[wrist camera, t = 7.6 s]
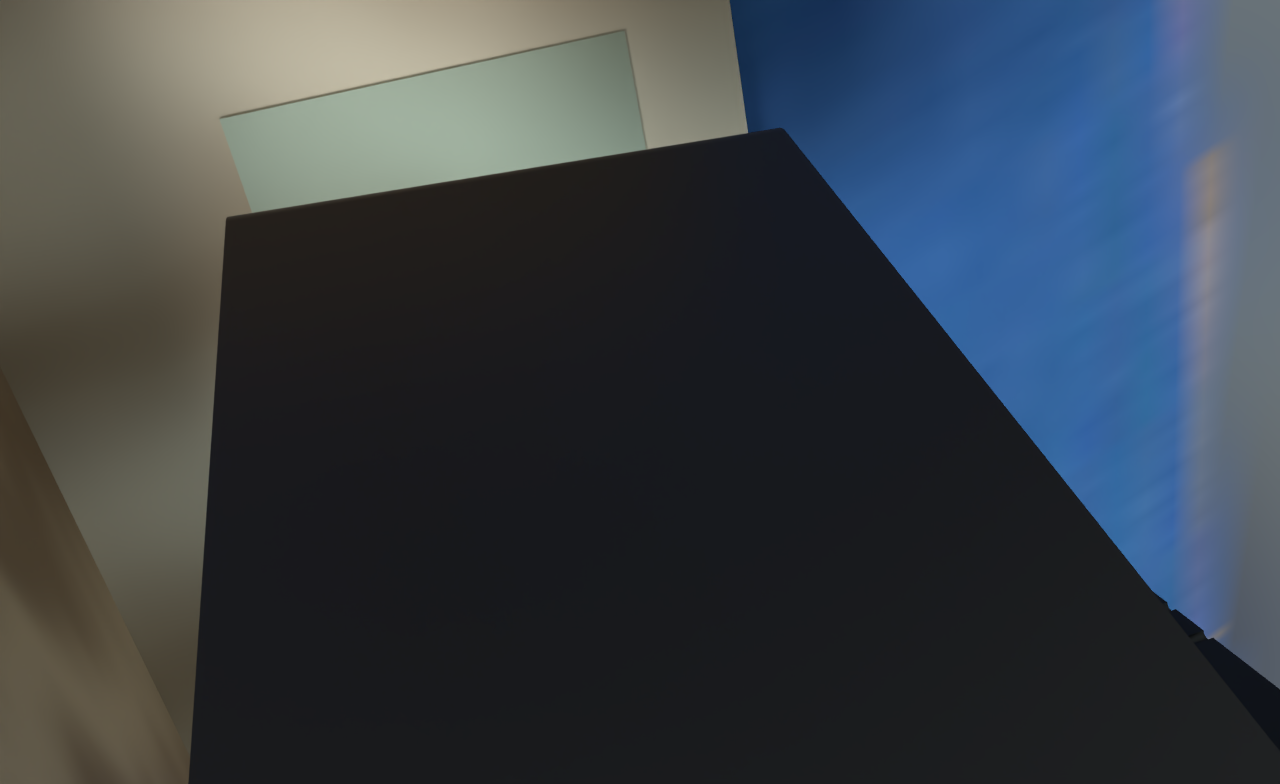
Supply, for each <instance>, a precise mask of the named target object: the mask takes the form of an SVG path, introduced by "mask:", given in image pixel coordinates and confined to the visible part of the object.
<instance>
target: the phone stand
mask: <svg viewBox="0 0 1280 784" xmlns="http://www.w3.org/2000/svg"><path fill="white" fill-rule="evenodd" d="M188 784H1280V751H1279V750H1278V748H1277V747H1276V746H1275V745H1274V743H1273V742H1272V741H1271V740H1270V738H1269V737H1268V736H1267V734H1266V733H1265V732H1264V731H1263V729H1262V728H1261V727H1260V726H1259V724H1258V723H1257V722H1256V721H1255V719H1254V718H1253V717H1252V716H1251V714H1250V713H1249V712H1248V711H1247V709H1246V708H1245V707H1244V706H1243V704H1242V703H1241V702H1240V701H1239V699H1238V698H1237V697H1236V696H1235V694H1234V693H1233V692H1232V691H1231V689H1230V688H1229V687H1228V686H1227V684H1226V683H1225V682H1224V681H1223V679H1222V678H1221V677H1220V676H1219V674H1218V673H1217V672H1216V671H1215V669H1214V668H1213V667H1212V665H1211V664H1210V663H1209V662H1208V660H1207V659H1206V658H1205V657H1204V655H1203V654H1202V653H1201V652H1200V650H1199V649H1198V648H1197V647H1196V645H1195V644H1194V643H1193V642H1192V640H1191V639H1190V638H1189V637H1188V635H1187V634H1186V633H1185V632H1184V630H1183V629H1182V628H1181V627H1180V625H1179V624H1178V623H1177V622H1176V620H1175V619H1174V618H1173V617H1172V615H1171V614H1170V613H1169V612H1168V610H1167V609H1166V608H1165V607H1164V605H1163V604H1162V603H1161V602H1160V600H1159V599H1158V598H1157V597H1156V595H1155V594H1154V593H1153V591H1152V590H1151V589H1150V588H1149V586H1148V585H1147V584H1146V583H1145V581H1144V580H1143V579H1142V578H1141V576H1140V575H1139V574H1138V573H1137V571H1136V570H1135V569H1134V568H1133V566H1132V565H1131V564H1130V563H1129V561H1128V560H1127V559H1126V558H1125V556H1124V555H1123V554H1122V553H1121V551H1120V550H1119V549H1118V548H1117V546H1116V545H1115V544H1114V543H1113V541H1112V540H1111V539H1110V538H1109V536H1108V535H1107V534H1106V533H1105V531H1104V530H1103V529H1102V528H1101V526H1100V525H1099V524H1098V522H1097V521H1096V520H1095V519H1094V517H1093V516H1092V515H1091V514H1090V512H1089V511H1088V510H1087V509H1086V507H1085V506H1084V505H1083V504H1082V502H1081V501H1080V500H1079V499H1078V497H1077V496H1076V495H1075V494H1074V492H1073V491H1072V490H1071V489H1070V487H1069V486H1068V485H1067V484H1066V482H1065V481H1064V480H1063V479H1062V477H1061V476H1060V475H1059V474H1058V472H1057V471H1056V470H1055V469H1054V467H1053V466H1052V465H1051V464H1050V462H1049V461H1048V460H1047V459H1046V457H1045V456H1044V455H1043V453H1042V452H1041V451H1040V450H1039V448H1038V447H1037V446H1036V445H1035V443H1034V442H1033V441H1032V440H1031V438H1030V437H1029V436H1028V435H1027V433H1026V432H1025V431H1024V430H1023V428H1022V427H1021V426H1020V425H1019V423H1018V422H1017V421H1016V420H1015V418H1014V417H1013V416H1012V415H1011V413H1010V412H1009V411H1008V410H1007V408H1006V407H1005V406H1004V405H1003V403H1002V402H1001V401H1000V400H999V398H998V397H997V396H996V395H995V393H994V392H993V391H992V390H991V388H990V387H989V386H988V384H987V383H986V382H985V381H984V379H983V378H982V377H981V376H980V374H979V373H978V372H977V371H976V369H975V368H974V367H973V366H972V364H971V363H970V362H969V361H968V359H967V358H966V357H965V356H964V354H963V353H962V352H961V351H960V349H959V348H958V347H957V346H956V344H955V343H954V342H953V341H952V339H951V338H950V337H949V336H948V334H947V333H946V332H945V331H944V329H943V328H942V327H941V326H940V324H939V323H938V322H937V321H936V319H935V318H934V317H933V315H932V314H931V313H930V312H929V310H928V309H927V308H926V307H925V305H924V304H923V303H922V302H921V300H920V299H919V298H918V297H917V295H916V294H915V293H914V292H913V290H912V289H911V288H910V287H909V285H908V284H907V283H906V282H905V280H904V279H903V278H902V277H901V275H900V274H899V273H898V272H897V270H896V269H895V268H894V267H893V265H892V264H891V263H890V262H889V260H888V259H887V258H886V257H885V255H884V254H883V253H882V252H881V250H880V249H879V248H878V246H877V245H876V244H875V243H874V241H873V240H872V239H871V238H870V236H869V235H868V234H867V233H866V231H865V230H864V229H863V228H862V226H861V225H860V224H859V223H858V221H857V220H856V219H855V218H854V216H853V215H852V214H851V213H850V211H849V210H848V209H847V208H846V206H845V205H844V204H843V203H842V201H841V200H840V199H839V198H838V196H837V195H836V194H835V193H834V191H833V190H832V189H831V188H830V186H829V185H828V184H827V183H826V181H825V180H824V179H823V177H822V176H821V175H820V174H819V172H818V171H817V170H816V169H815V167H814V166H813V165H812V164H811V162H810V161H809V160H808V159H807V157H806V156H805V155H804V154H803V152H802V151H801V150H800V149H799V147H798V146H797V145H796V144H795V142H794V141H793V140H792V139H791V137H790V136H789V135H788V134H787V132H786V131H785V130H784V129H782V128H776V129H770V130H764V131H758V132H751V133H745V134H739V135H733V136H727V137H720V138H714V139H708V140H702V141H695V142H689V143H683V144H677V145H671V146H664V147H658V148H652V149H646V150H640V151H633V152H627V153H621V154H615V155H608V156H602V157H596V158H590V159H584V160H577V161H571V162H565V163H559V164H552V165H546V166H540V167H534V168H528V169H521V170H515V171H509V172H503V173H497V174H490V175H484V176H478V177H472V178H465V179H459V180H453V181H447V182H441V183H434V184H428V185H422V186H416V187H410V188H403V189H397V190H391V191H385V192H378V193H372V194H366V195H360V196H354V197H347V198H341V199H335V200H329V201H323V202H316V203H310V204H304V205H298V206H291V207H285V208H279V209H273V210H267V211H260V212H254V213H248V214H242V215H235V216H229V217H227V218H226V225H225V240H224V255H223V270H222V285H221V300H220V315H219V330H218V345H217V360H216V375H215V390H214V405H213V420H212V435H211V450H210V466H209V481H208V496H207V511H206V526H205V541H204V556H203V571H202V586H201V601H200V616H199V631H198V646H197V661H196V676H195V691H194V707H193V722H192V737H191V752H190V767H189V782H188Z"/></svg>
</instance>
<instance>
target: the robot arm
mask: <svg viewBox="0 0 1280 784" xmlns="http://www.w3.org/2000/svg"><path fill="white" fill-rule="evenodd" d="M1153 593H1154V592H1153ZM1154 594H1155V593H1154ZM1155 595H1156V597H1157V598H1158V599H1159V600H1160V602H1161V603H1162V604H1163V605H1164V607H1165V608H1166V609H1167V610H1168V612H1169V613H1170V614H1171V615H1172V617H1173V618H1174V619H1175V620H1176V622H1177V623H1178V624H1179V625H1180V627H1181V628H1182V629H1183V630H1184V632H1185V633H1186V634H1187V635H1188V637H1189V638H1190V639H1191V640H1192V642H1193V643H1194V644H1195V645H1196V647H1197V648H1198V649H1199V650H1200V652H1201V653H1202V654H1203V655H1204V657H1205V658H1206V659H1207V660H1208V662H1209V663H1210V664H1211V665H1212V667H1213V668H1214V669H1215V671H1216V672H1217V673H1218V674H1219V676H1220V677H1221V678H1222V679H1223V681H1224V682H1225V683H1226V684H1227V686H1228V687H1229V688H1230V689H1231V691H1232V692H1233V693H1234V694H1235V696H1236V697H1237V698H1238V699H1239V701H1240V702H1241V703H1242V704H1243V706H1244V707H1245V708H1246V709H1247V711H1248V712H1249V713H1250V714H1251V716H1252V717H1253V718H1254V719H1255V721H1256V722H1257V723H1258V724H1259V726H1260V727H1261V728H1262V729H1263V731H1264V732H1265V733H1266V734H1267V736H1268V737H1269V738H1270V740H1271V741H1272V742H1273V743H1274V745H1275V746H1276V747H1277V748H1278V750H1279V751H1280V689H1279V688H1277V687H1276V686H1275V685H1273V684H1272V683H1271V682H1270V681H1268V680H1267V679H1266V678H1264V677H1263V676H1262V675H1260V674H1259V673H1258V672H1257V671H1255V670H1254V669H1253V668H1251V667H1250V666H1249V665H1248V664H1246V663H1245V662H1244V661H1242V660H1241V659H1240V658H1238V657H1237V656H1236V655H1235V654H1233V653H1232V652H1231V651H1229V650H1228V649H1227V648H1225V647H1224V646H1223V645H1222V644H1220V643H1219V642H1218V641H1216V640H1215V639H1214V638H1211V639H1207V638H1206V636H1205V635H1204V631H1203V630H1202V629H1201V628H1200V627H1198V626H1197V625H1196V624H1194V623H1193V622H1192V621H1190V620H1189V619H1188V618H1187V617H1185V616H1184V615H1183V614H1181V613H1180V612H1179V611H1177V610H1176V609H1175V610H1172V611H1171V610H1170V609H1169V607H1168V605H1167V602H1166V601H1164V600H1163V599H1162V598H1161V597H1159V596H1158V595H1157V594H1155Z"/></svg>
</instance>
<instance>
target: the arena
mask: <svg viewBox="0 0 1280 784" xmlns="http://www.w3.org/2000/svg"><path fill="white" fill-rule="evenodd" d="M745 133H748V129H747V122H746V115H745V108H744V100H743V93H742V86H741V79H740V72H739V65H738V58H737V50H736V43H735V36H734V29H733V22H732V15H731V8H730V0H0V784H188V782H189V767H190V752H191V737H192V722H193V707H194V691H195V676H196V661H197V646H198V631H199V616H200V601H201V586H202V571H203V556H204V541H205V526H206V511H207V496H208V481H209V466H210V450H211V435H212V420H213V405H214V390H215V375H216V360H217V345H218V330H219V315H220V300H221V285H222V270H223V255H224V240H225V225H226V218H227V217H229V216H235V215H242V214H248V213H254V212H260V211H267V210H273V209H279V208H285V207H291V206H298V205H304V204H310V203H316V202H323V201H329V200H335V199H341V198H347V197H354V196H360V195H366V194H372V193H378V192H385V191H391V190H397V189H403V188H410V187H416V186H422V185H428V184H434V183H441V182H447V181H453V180H459V179H465V178H472V177H478V176H484V175H490V174H497V173H503V172H509V171H515V170H521V169H528V168H534V167H540V166H546V165H552V164H559V163H565V162H571V161H577V160H584V159H590V158H596V157H602V156H608V155H615V154H621V153H627V152H633V151H640V150H646V149H652V148H658V147H664V146H671V145H677V144H683V143H689V142H695V141H702V140H708V139H714V138H720V137H727V136H733V135H739V134H745Z"/></svg>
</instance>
